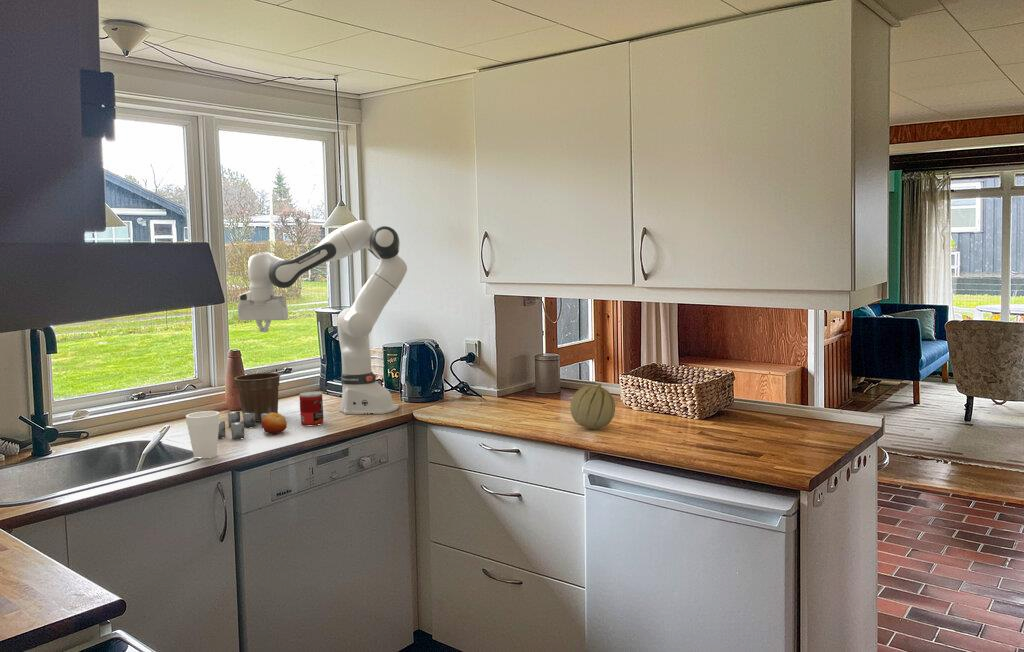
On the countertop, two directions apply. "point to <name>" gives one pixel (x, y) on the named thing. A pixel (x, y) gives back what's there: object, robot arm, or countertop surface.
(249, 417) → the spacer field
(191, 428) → the foam cup
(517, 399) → the countertop surface
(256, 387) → the plant pot
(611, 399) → the cantaloupe
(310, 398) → the canned food
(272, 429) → the fruit
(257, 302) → the robot arm
